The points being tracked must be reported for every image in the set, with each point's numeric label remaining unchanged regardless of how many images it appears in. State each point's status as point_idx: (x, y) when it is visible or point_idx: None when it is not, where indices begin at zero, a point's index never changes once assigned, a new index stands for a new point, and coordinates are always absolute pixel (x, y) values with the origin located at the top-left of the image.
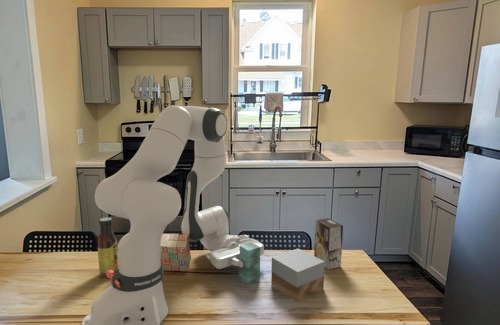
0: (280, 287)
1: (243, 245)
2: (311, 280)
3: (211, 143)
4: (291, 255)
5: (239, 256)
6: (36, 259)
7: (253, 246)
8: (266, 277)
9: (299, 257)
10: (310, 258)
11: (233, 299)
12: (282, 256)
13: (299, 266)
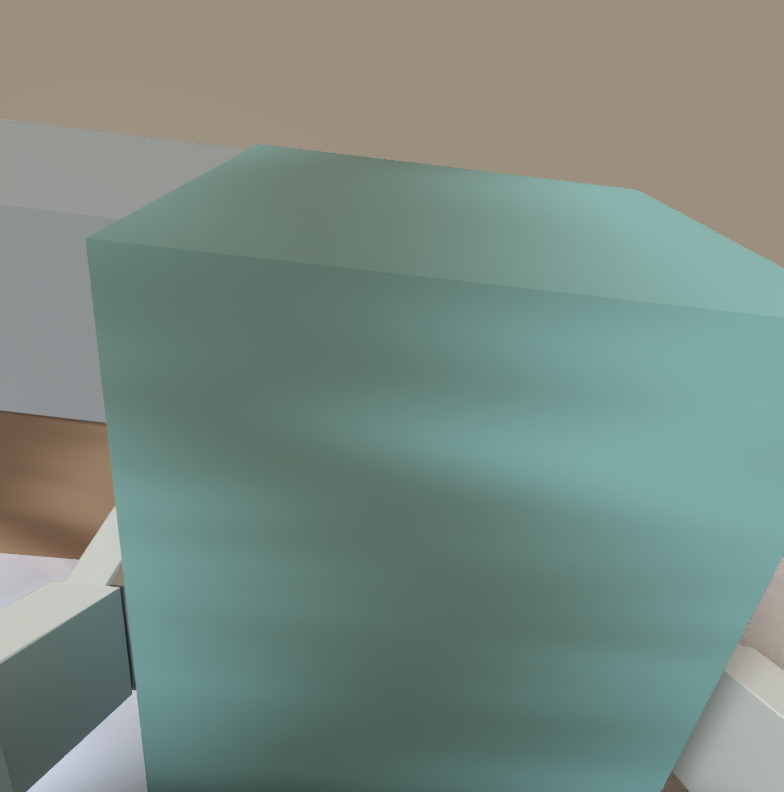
0: None
1: (675, 273)
2: None
3: None
4: (11, 175)
5: (690, 720)
6: None
7: (381, 178)
8: (107, 723)
9: (24, 156)
10: None
11: (770, 642)
12: (111, 200)
13: (225, 155)
